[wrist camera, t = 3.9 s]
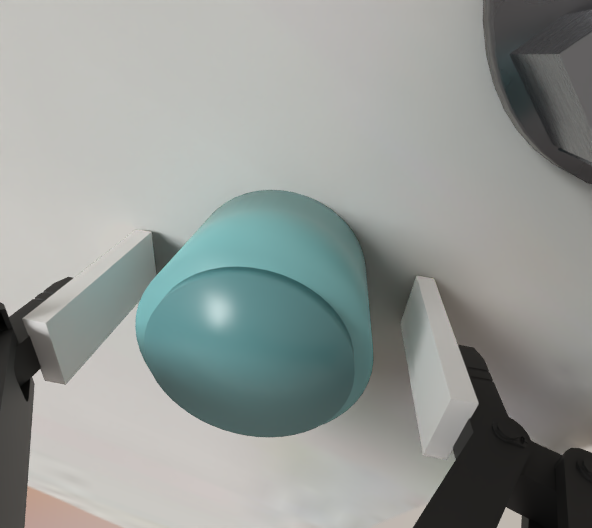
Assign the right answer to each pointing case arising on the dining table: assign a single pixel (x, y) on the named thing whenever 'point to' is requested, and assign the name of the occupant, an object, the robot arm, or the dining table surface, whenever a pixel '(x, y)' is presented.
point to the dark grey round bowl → (545, 75)
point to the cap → (262, 317)
